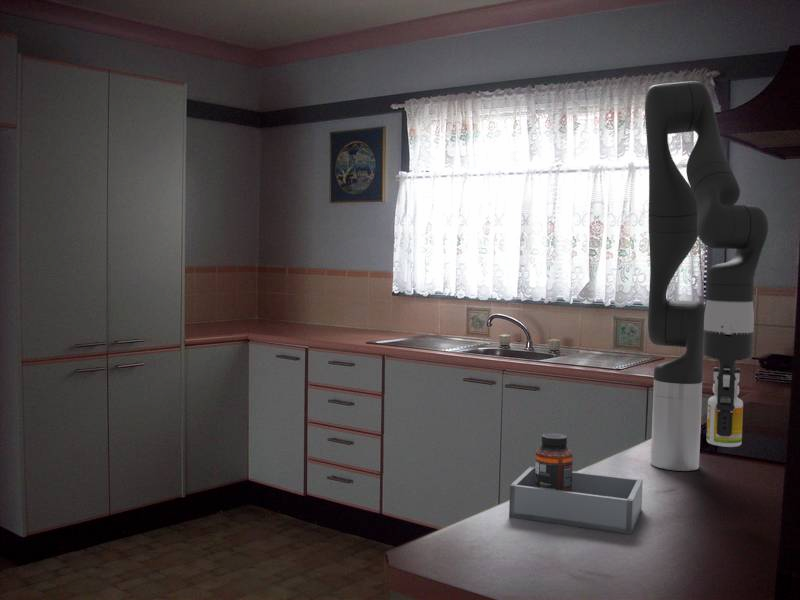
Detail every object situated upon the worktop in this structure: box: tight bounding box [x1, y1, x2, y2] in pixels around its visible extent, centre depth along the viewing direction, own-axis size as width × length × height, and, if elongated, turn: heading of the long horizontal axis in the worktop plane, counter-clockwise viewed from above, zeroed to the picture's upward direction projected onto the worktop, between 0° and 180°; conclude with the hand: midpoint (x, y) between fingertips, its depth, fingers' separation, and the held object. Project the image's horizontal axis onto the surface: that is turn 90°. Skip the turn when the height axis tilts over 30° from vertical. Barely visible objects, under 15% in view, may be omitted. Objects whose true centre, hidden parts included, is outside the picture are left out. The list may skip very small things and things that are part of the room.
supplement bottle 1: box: [534, 432, 573, 492], centre depth 133 cm, size 6×6×11 cm
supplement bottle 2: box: [706, 382, 744, 448], centre depth 134 cm, size 5×5×10 cm
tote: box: [508, 466, 644, 535], centre depth 131 cm, size 14×19×5 cm
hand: (724, 431), depth 134 cm, fingers closed on supplement bottle 2, 5 cm apart
